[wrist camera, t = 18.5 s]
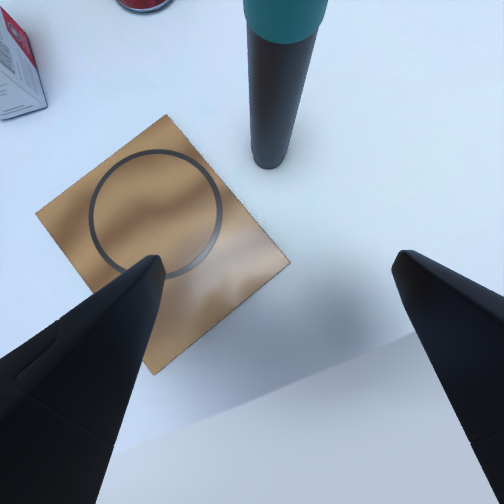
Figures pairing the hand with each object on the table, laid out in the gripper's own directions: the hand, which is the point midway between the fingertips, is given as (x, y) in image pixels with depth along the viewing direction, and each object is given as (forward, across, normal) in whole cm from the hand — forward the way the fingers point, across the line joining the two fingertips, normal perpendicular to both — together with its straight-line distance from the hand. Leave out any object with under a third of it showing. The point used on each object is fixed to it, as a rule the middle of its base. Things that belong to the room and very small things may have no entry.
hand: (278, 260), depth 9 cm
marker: (+16, 0, +1) cm, 16 cm away
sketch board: (+10, +9, +6) cm, 15 cm away
